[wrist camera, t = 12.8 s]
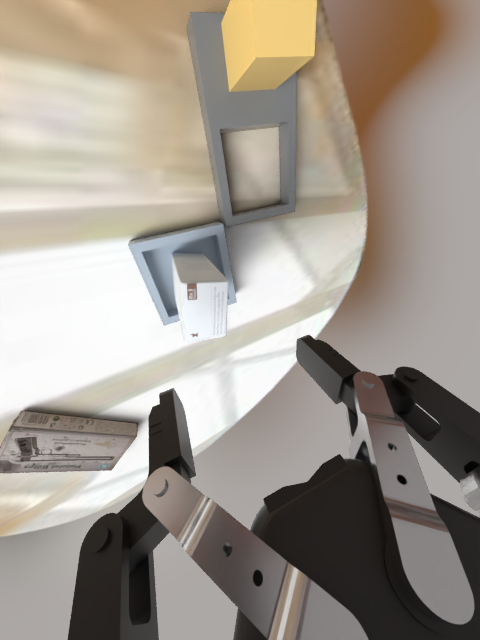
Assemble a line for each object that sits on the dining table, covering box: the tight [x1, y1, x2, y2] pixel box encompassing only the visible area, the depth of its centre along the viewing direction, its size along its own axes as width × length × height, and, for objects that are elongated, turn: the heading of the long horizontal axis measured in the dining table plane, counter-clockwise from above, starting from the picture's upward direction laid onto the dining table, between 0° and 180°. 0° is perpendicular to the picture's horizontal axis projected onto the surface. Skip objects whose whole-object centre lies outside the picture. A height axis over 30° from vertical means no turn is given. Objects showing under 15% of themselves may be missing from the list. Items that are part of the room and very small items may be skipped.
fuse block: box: [187, 0, 317, 227], centre depth 20 cm, size 16×10×8 cm, turn 8°
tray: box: [128, 222, 237, 325], centre depth 27 cm, size 11×11×2 cm
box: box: [0, 411, 138, 473], centre depth 34 cm, size 11×17×3 cm, turn 50°
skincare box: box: [171, 253, 228, 342], centre depth 23 cm, size 6×4×12 cm
